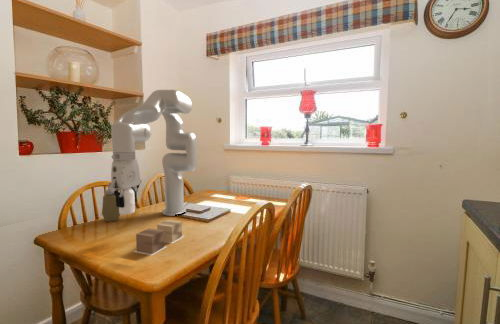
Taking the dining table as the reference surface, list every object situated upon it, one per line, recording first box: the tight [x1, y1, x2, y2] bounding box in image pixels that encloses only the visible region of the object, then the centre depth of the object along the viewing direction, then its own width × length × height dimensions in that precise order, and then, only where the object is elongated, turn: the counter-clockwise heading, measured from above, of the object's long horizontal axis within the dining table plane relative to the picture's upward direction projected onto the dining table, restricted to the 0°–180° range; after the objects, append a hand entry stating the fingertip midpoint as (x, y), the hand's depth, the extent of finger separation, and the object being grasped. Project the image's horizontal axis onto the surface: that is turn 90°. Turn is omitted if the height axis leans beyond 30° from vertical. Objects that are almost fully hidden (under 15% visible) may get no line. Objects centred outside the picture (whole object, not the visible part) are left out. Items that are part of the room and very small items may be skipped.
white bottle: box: [119, 188, 136, 215], centre depth 105 cm, size 6×12×6 cm
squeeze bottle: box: [101, 182, 121, 223], centre depth 133 cm, size 8×8×18 cm
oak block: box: [156, 219, 183, 243], centre depth 107 cm, size 6×6×6 cm
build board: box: [133, 235, 185, 257], centre depth 103 cm, size 22×14×1 cm, turn 160°
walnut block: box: [135, 228, 165, 254], centre depth 97 cm, size 6×6×6 cm
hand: (126, 204), depth 105 cm, fingers closed on white bottle, 5 cm apart
